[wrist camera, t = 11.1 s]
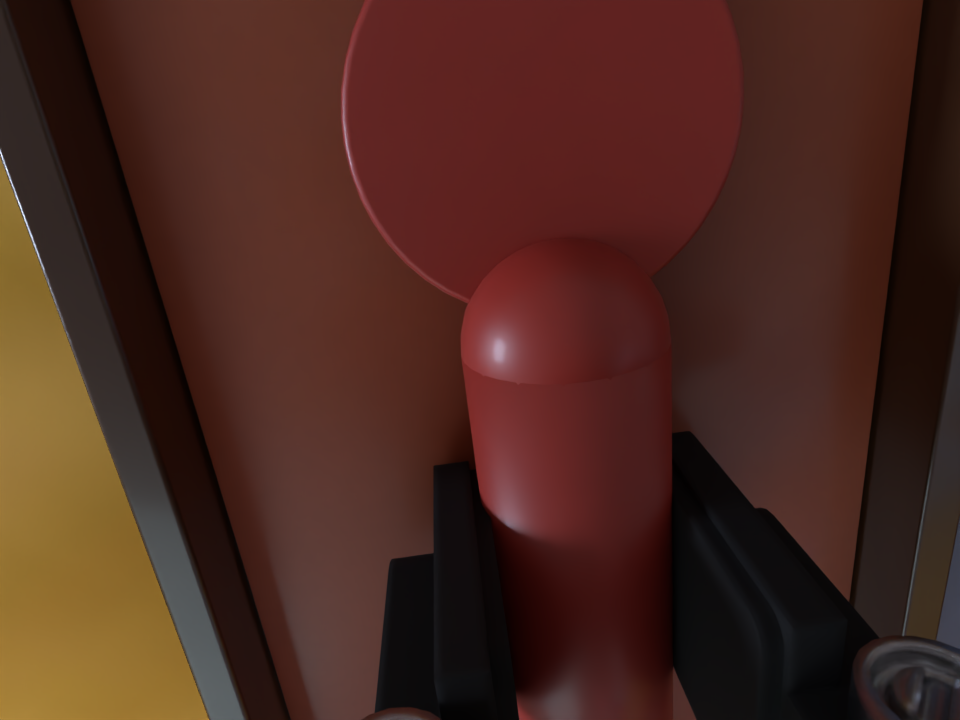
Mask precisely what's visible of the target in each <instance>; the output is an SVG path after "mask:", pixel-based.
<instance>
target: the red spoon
mask: <svg viewBox="0 0 960 720" xmlns="http://www.w3.org/2000/svg"><path fill="white" fill-rule="evenodd" d="M743 106H744V70H743V63H742V56H741V50H740V43H739V39H738V35H737V31H736V28H735V24H734V21H733V17H732V14H731V11H730V9H729V7H728V4H727V2H726V0H365V1H364V3H363V5H362V8H361V10H360V13H359V15H358V18H357V20H356V23H355V25H354V28H353V30H352V34H351V38H350V42H349V46H348V49H347V53H346V57H345V62H344V70H343V78H342V85H341V124H342V133H343V141H344V148H345V152H346V156H347V161H348V165H349V169H350V173H351V176H352V179H353V181H354V184H355V186H356V189H357V192H358V194H359V197H360V199H361V201H362V203H363V205H364V207H365V209H366V211H367V213H368V215H369V216H370V218H371V220H372V222H373V224H374V225H375V227H376V228H377V230H378V231H379V232H380V234H381V235H382V237H383V238H384V239H385V241H386V242H387V244H388V245H389V246H390V247H391V248H392V249H393V250H394V252H395V253H396V254H397V255H398V256H399V257H400V258H401V259H402V260H403V261H404V262H405V264H407V265H408V266H409V267H410V268H411V269H413V270H414V271H415V272H416V273H417V274H418V275H420V276H421V277H422V278H423V279H424V280H426V281H427V282H429V283H431V284H432V285H434V286H435V287H437V288H438V289H440V290H441V291H443V292H444V293H446V294H448V295H451V296H453V297H455V298H457V299H459V300H461V301H463V302H465V303H468V305H467V307H466V310H465V313H464V319H463V324H462V330H461V359H462V366H463V374H464V381H465V389H466V396H467V403H468V411H469V418H470V426H471V433H472V441H473V448H474V456H475V463H476V471H477V478H478V485H479V493H480V499H481V503H482V505H483V507H484V509H485V511H486V512H487V513H488V514H489V516H490V517H491V523H492V530H493V537H494V544H495V551H496V557H497V564H498V571H499V578H500V585H501V591H502V598H503V605H504V612H505V619H506V625H507V632H508V639H509V646H510V653H511V660H512V667H513V675H514V682H515V690H516V698H517V706H518V713H519V720H673V558H672V345H671V334H670V325H669V318H668V314H667V311H666V308H665V305H664V302H663V299H662V296H661V295H660V293H659V291H658V290H657V288H656V286H655V285H654V283H653V281H652V280H651V277H652V276H653V275H654V274H656V273H657V272H658V271H659V270H661V269H662V268H663V267H664V266H666V265H667V264H668V263H669V262H670V261H671V260H672V259H673V258H674V257H675V256H676V255H677V254H678V253H679V252H680V251H681V250H682V249H683V248H684V247H685V246H686V245H687V244H688V242H689V241H690V240H691V239H692V237H693V236H694V235H695V233H696V232H697V231H698V230H699V228H700V227H701V226H702V224H703V223H704V221H705V220H706V218H707V216H708V215H709V213H710V211H711V210H712V208H713V207H714V205H715V203H716V201H717V199H718V197H719V195H720V193H721V191H722V189H723V186H724V184H725V182H726V180H727V178H728V175H729V172H730V169H731V166H732V163H733V160H734V157H735V154H736V150H737V145H738V140H739V136H740V131H741V126H742V116H743Z"/></svg>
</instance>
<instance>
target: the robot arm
mask: <svg viewBox="0 0 960 720" xmlns="http://www.w3.org/2000/svg"><path fill="white" fill-rule="evenodd" d="M433 542H434V553H431V554H423V555H416V556H409V557H402V558H395V559H391V561H390V564H389V570H388V580H387V590H386V600H385V611H384V621H383V631H382V641H381V651H380V662H379V672H378V682H377V692H376V703H375V713H373V714H370V715H368V716H366V717H365V718H363V719H361V720H519V713H518V706H517V698H516V690H515V682H514V675H513V667H512V660H511V653H510V646H509V639H508V632H507V625H506V619H505V612H504V605H503V598H502V591H501V585H500V578H499V571H498V564H497V557H496V551H495V544H494V537H493V530H492V523H491V517H490V516H489V514H488V513H487V512H486V511H485V509H484V507H483V505H482V503H481V499H480V493H479V485H478V478H477V471H476V469H474V470H470V468H469V462H468V461H464V462H456V463H449V464H442V465H434V466H433ZM672 558H673V667H674V670H675V672H676V674H677V677H678V679H679V681H680V683H681V686H682V688H683V690H684V692H685V695H686V697H687V699H688V702H689V704H690V706H691V708H692V711H693V713H694V715H695V718H696V720H960V649H958V648H956V647H953V646H951V645H948V644H945V643H943V642H940V641H937V640H932V639H927V638H922V637H918V636H899V635H890V636H887V637H883V638H879V636H878V635H877V634H876V633H875V632H874V631H873V629H872V628H871V627H870V626H869V625H868V624H867V622H866V621H865V620H864V619H863V618H862V617H861V616H860V614H859V613H858V612H857V611H856V610H855V609H854V607H853V606H852V605H851V604H850V603H849V602H848V600H847V599H846V598H845V597H844V596H843V595H842V594H841V592H840V591H839V590H838V589H837V588H836V587H835V585H834V584H833V583H832V582H831V581H830V580H829V578H828V577H827V576H826V575H825V574H824V573H823V572H822V570H821V569H820V568H819V567H818V566H817V565H816V563H815V562H814V561H813V560H812V559H811V558H810V556H809V555H808V554H807V553H806V552H805V551H804V549H803V548H802V547H801V546H800V545H799V544H798V543H797V541H796V540H795V539H794V538H793V537H792V536H791V534H790V533H789V532H788V531H787V530H786V529H785V527H784V526H783V525H782V524H781V523H780V522H779V521H778V519H777V518H776V517H775V516H774V515H773V514H772V513H771V512H770V511H768V510H767V509H765V508H761V507H760V508H754V506H753V505H752V504H751V503H750V502H749V500H748V499H747V498H746V497H745V496H744V494H743V493H742V492H741V491H740V490H739V488H738V487H737V486H736V485H735V483H734V482H733V481H732V480H731V479H730V477H729V476H728V475H727V474H726V473H725V471H724V470H723V469H722V468H721V467H720V465H719V464H718V463H717V462H716V461H715V459H714V458H713V457H712V456H711V455H710V453H709V452H708V451H707V450H706V449H705V447H704V446H703V445H702V444H701V443H700V441H699V440H698V439H697V438H696V437H695V435H694V434H693V433H692V432H690V431H684V432H676V433H672Z"/></svg>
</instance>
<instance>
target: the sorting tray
mask: <svg viewBox="0 0 960 720" xmlns="http://www.w3.org/2000/svg"><path fill="white" fill-rule="evenodd" d="M364 1H365V0H0V157H1V160H2V163H3V165H4V168H5V171H6V173H7V176H8V179H9V182H10V184H11V187H12V190H13V192H14V195H15V198H16V200H17V203H18V206H19V208H20V211H21V214H22V217H23V219H24V222H25V225H26V227H27V230H28V233H29V235H30V238H31V241H32V243H33V246H34V249H35V252H36V254H37V257H38V260H39V262H40V265H41V268H42V270H43V273H44V276H45V279H46V281H47V284H48V287H49V289H50V292H51V295H52V297H53V300H54V303H55V305H56V308H57V311H58V314H59V316H60V319H61V322H62V324H63V327H64V330H65V332H66V335H67V338H68V340H69V343H70V346H71V349H72V351H73V354H74V357H75V359H76V362H77V365H78V367H79V370H80V373H81V376H82V378H83V381H84V384H85V386H86V389H87V392H88V394H89V397H90V400H91V402H92V405H93V408H94V411H95V413H96V416H97V419H98V421H99V424H100V427H101V429H102V432H103V435H104V437H105V440H106V443H107V446H108V448H109V451H110V454H111V456H112V459H113V462H114V464H115V467H116V470H117V473H118V475H119V478H120V481H121V483H122V486H123V489H124V491H125V494H126V497H127V499H128V502H129V505H130V508H131V510H132V513H133V516H134V518H135V521H136V524H137V526H138V529H139V532H140V535H141V537H142V540H143V543H144V545H145V548H146V551H147V553H148V556H149V559H150V561H151V564H152V567H153V570H154V572H155V575H156V578H157V580H158V583H159V586H160V588H161V591H162V594H163V596H164V599H165V602H166V605H167V607H168V610H169V613H170V615H171V618H172V621H173V623H174V626H175V629H176V632H177V634H178V637H179V640H180V642H181V645H182V648H183V650H184V653H185V656H186V658H187V661H188V664H189V667H190V669H191V672H192V675H193V677H194V680H195V683H196V685H197V688H198V691H199V693H200V696H201V699H202V702H203V704H204V707H205V710H206V712H207V715H208V718H209V720H361V719H363V718H365V717H366V716H368V715H370V714H373V713H375V703H376V692H377V682H378V672H379V662H380V651H381V641H382V631H383V621H384V611H385V600H386V590H387V580H388V570H389V564H390V561H391V559H395V558H402V557H409V556H416V555H423V554H431V553H434V542H433V466H434V465H442V464H449V463H456V462H464V461H468V462H469V468H470V470H474V469H476V463H475V456H474V448H473V441H472V433H471V426H470V418H469V411H468V403H467V396H466V389H465V381H464V374H463V366H462V359H461V330H462V324H463V319H464V313H465V310H466V307H467V305H468V303H465V302H463V301H461V300H459V299H457V298H455V297H453V296H451V295H448V294H446V293H444V292H443V291H441V290H440V289H438V288H437V287H435V286H434V285H432V284H431V283H429V282H427V281H426V280H424V279H423V278H422V277H421V276H420V275H418V274H417V273H416V272H415V271H414V270H413V269H411V268H410V267H409V266H408V265H407V264H405V262H404V261H403V260H402V259H401V258H400V257H399V256H398V255H397V254H396V253H395V252H394V250H393V249H392V248H391V247H390V246H389V245H388V244H387V242H386V241H385V239H384V238H383V237H382V235H381V234H380V232H379V231H378V230H377V228H376V227H375V225H374V224H373V222H372V220H371V218H370V216H369V215H368V213H367V211H366V209H365V207H364V205H363V203H362V201H361V199H360V197H359V194H358V192H357V189H356V186H355V184H354V181H353V179H352V176H351V173H350V169H349V165H348V161H347V156H346V152H345V148H344V141H343V133H342V124H341V85H342V78H343V70H344V62H345V57H346V53H347V49H348V46H349V42H350V38H351V34H352V30H353V28H354V25H355V23H356V20H357V18H358V15H359V13H360V10H361V8H362V5H363V3H364ZM726 2H727V4H728V7H729V9H730V11H731V14H732V17H733V21H734V24H735V28H736V31H737V35H738V39H739V43H740V50H741V56H742V63H743V70H744V106H743V116H742V126H741V131H740V136H739V140H738V145H737V150H736V154H735V157H734V160H733V163H732V166H731V169H730V172H729V175H728V178H727V180H726V182H725V184H724V186H723V189H722V191H721V193H720V195H719V197H718V199H717V201H716V203H715V205H714V207H713V208H712V210H711V211H710V213H709V215H708V216H707V218H706V220H705V221H704V223H703V224H702V226H701V227H700V228H699V230H698V231H697V232H696V233H695V235H694V236H693V237H692V239H691V240H690V241H689V242H688V244H687V245H686V246H685V247H684V248H683V249H682V250H681V251H680V252H679V253H678V254H677V255H676V256H675V257H674V258H673V259H672V260H671V261H670V262H669V263H668V264H667V265H666V266H664V267H663V268H662V269H661V270H659V271H658V272H657V273H656V274H654V275H653V276H652V277H651V280H652V281H653V283H654V285H655V286H656V288H657V290H658V291H659V293H660V295H661V296H662V299H663V302H664V305H665V308H666V311H667V314H668V318H669V325H670V334H671V345H672V433H676V432H684V431H690V432H692V433H693V434H694V435H695V437H696V438H697V439H698V440H699V441H700V443H701V444H702V445H703V446H704V447H705V449H706V450H707V451H708V452H709V453H710V455H711V456H712V457H713V458H714V459H715V461H716V462H717V463H718V464H719V465H720V467H721V468H722V469H723V470H724V471H725V473H726V474H727V475H728V476H729V477H730V479H731V480H732V481H733V482H734V483H735V485H736V486H737V487H738V488H739V490H740V491H741V492H742V493H743V494H744V496H745V497H746V498H747V499H748V500H749V502H750V503H751V504H752V505H753V506H754V508H760V507H761V508H765V509H767V510H768V511H770V512H771V513H772V514H773V515H774V516H775V517H776V518H777V519H778V521H779V522H780V523H781V524H782V525H783V526H784V527H785V529H786V530H787V531H788V532H789V533H790V534H791V536H792V537H793V538H794V539H795V540H796V541H797V543H798V544H799V545H800V546H801V547H802V548H803V549H804V551H805V552H806V553H807V554H808V555H809V556H810V558H811V559H812V560H813V561H814V562H815V563H816V565H817V566H818V567H819V568H820V569H821V570H822V572H823V573H824V574H825V575H826V576H827V577H828V578H829V580H830V581H831V582H832V583H833V584H834V585H835V587H836V588H837V589H838V590H839V591H840V592H841V594H842V595H843V596H844V597H845V598H846V599H847V600H848V602H849V603H850V604H851V605H852V606H853V607H854V609H855V610H856V611H857V612H858V613H859V614H860V616H861V617H862V618H863V619H864V620H865V621H866V622H867V624H868V625H869V626H870V627H871V628H872V629H873V631H874V632H875V633H876V634H877V635H878V636H879V638H883V637H887V636H890V635H899V636H918V637H922V638H927V639H932V640H937V641H940V642H943V643H945V644H948V645H951V646H953V647H956V648H958V649H960V0H726ZM673 720H696V718H695V715H694V713H693V711H692V708H691V706H690V704H689V702H688V699H687V697H686V695H685V692H684V690H683V688H682V686H681V683H680V681H679V679H678V677H677V674H676V672H675V670H674V667H673Z"/></svg>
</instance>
